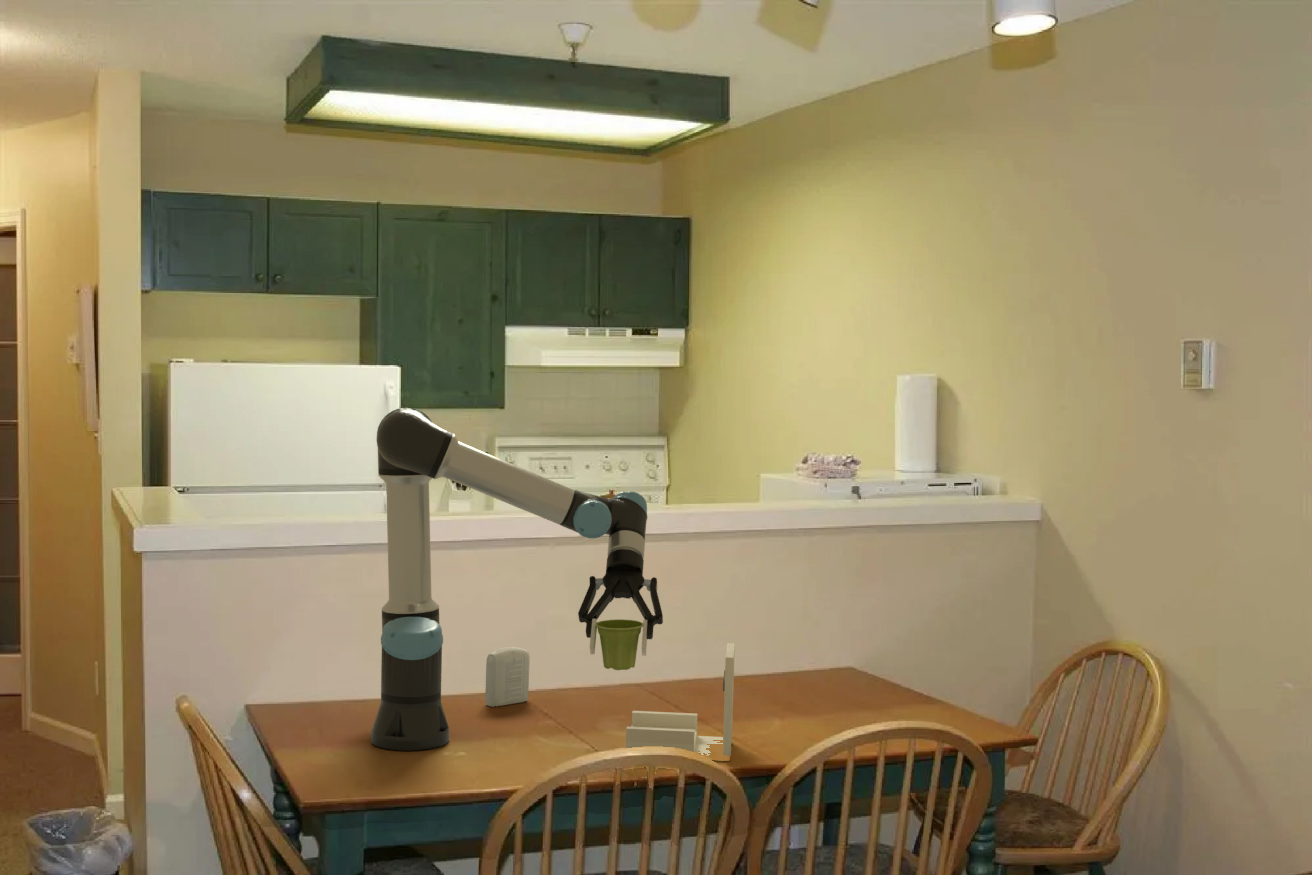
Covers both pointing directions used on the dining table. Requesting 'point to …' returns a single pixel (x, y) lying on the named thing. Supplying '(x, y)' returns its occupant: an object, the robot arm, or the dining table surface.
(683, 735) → the bracket shelf
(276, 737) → the dining table surface
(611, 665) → the plant pot
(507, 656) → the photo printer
